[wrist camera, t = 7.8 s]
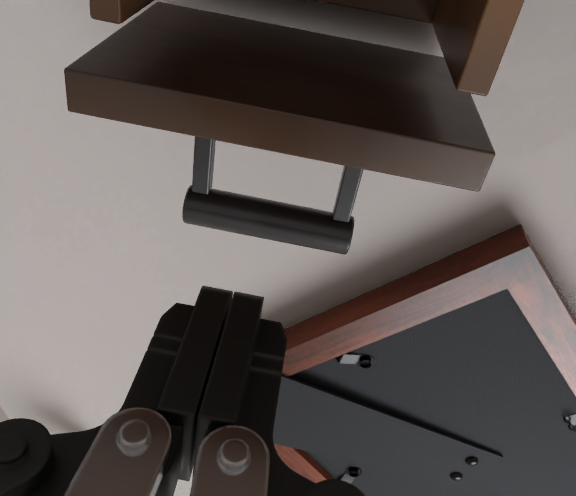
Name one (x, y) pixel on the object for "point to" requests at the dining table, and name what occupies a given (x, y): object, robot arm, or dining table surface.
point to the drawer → (300, 100)
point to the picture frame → (438, 382)
